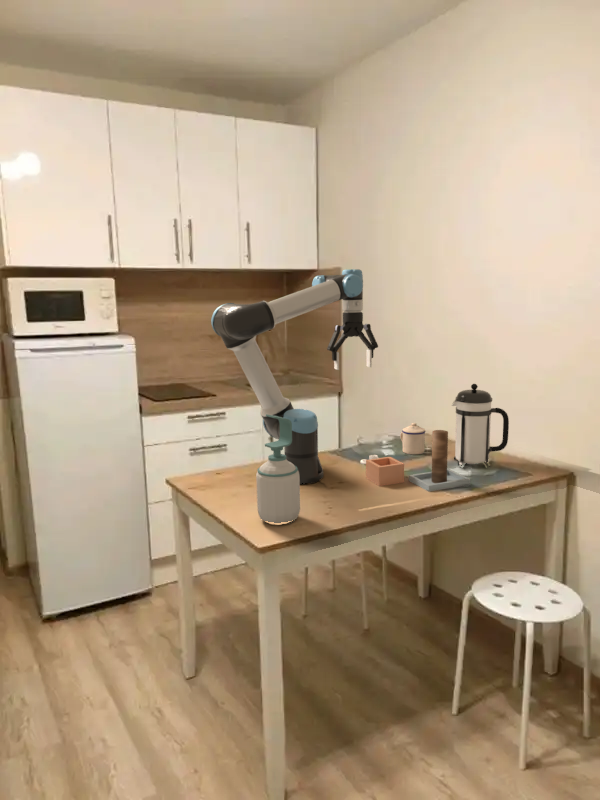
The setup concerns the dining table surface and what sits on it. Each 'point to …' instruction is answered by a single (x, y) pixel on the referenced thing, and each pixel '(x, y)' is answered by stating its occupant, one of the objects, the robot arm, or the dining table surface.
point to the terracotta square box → (385, 471)
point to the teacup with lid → (413, 439)
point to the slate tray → (426, 483)
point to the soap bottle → (278, 481)
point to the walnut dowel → (439, 456)
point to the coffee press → (476, 426)
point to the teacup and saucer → (369, 458)
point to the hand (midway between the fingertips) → (353, 368)
